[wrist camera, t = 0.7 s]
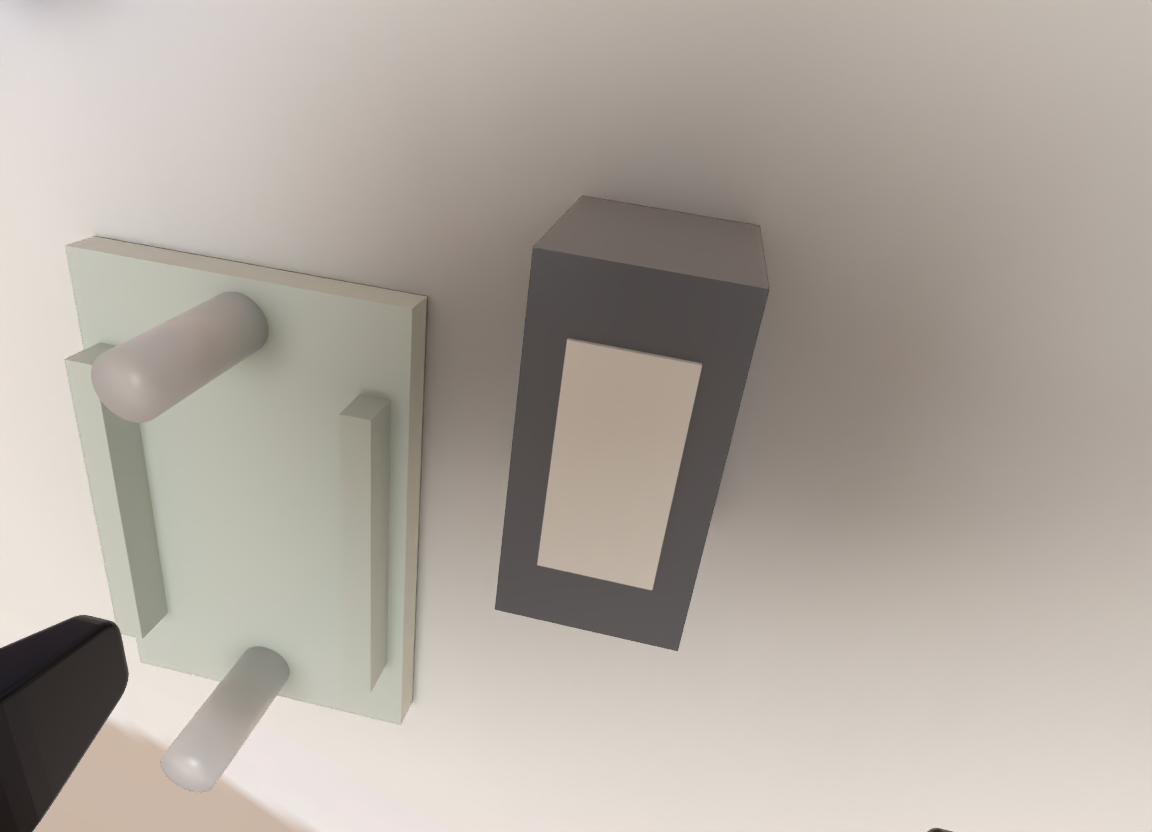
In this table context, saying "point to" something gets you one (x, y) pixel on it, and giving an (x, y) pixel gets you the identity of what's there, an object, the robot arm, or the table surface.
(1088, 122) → the table surface
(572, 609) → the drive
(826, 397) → the table surface
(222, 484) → the pegged rail plate
